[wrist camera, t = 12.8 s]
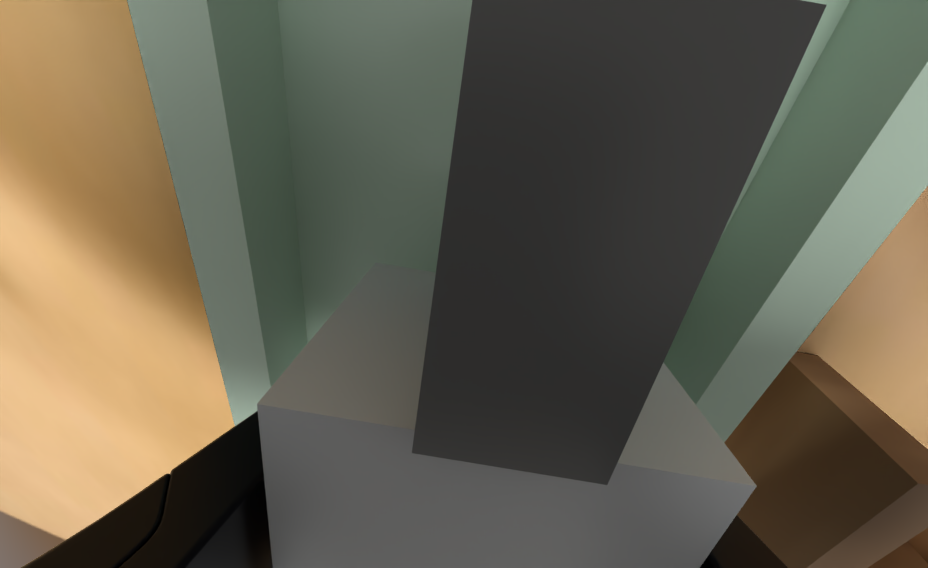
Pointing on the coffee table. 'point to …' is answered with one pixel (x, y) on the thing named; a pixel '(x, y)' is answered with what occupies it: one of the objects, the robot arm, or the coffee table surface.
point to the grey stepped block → (543, 307)
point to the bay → (831, 474)
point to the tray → (428, 164)
